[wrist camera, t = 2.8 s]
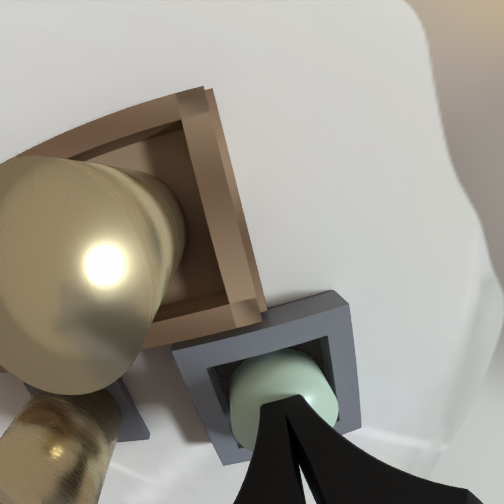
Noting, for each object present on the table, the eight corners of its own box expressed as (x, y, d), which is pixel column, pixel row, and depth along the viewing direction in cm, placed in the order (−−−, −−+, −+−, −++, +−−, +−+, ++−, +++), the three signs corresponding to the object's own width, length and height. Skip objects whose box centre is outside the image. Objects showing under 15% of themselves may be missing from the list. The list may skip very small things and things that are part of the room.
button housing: (349, 407, 13) (361, 427, 12) (222, 442, 13) (223, 465, 11) (333, 290, 12) (349, 303, 10) (176, 331, 11) (171, 351, 10)
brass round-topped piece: (201, 274, 11) (186, 377, 5) (94, 302, 10) (7, 400, 4) (169, 154, 10) (108, 114, 4) (61, 191, 9) (-65, 206, 4)
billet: (137, 437, 12) (112, 546, 6) (67, 441, 12) (28, 531, 6) (97, 364, 11) (37, 473, 5) (27, 374, 11) (-41, 459, 5)
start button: (327, 407, 12) (342, 438, 10) (242, 431, 12) (246, 465, 10) (314, 336, 11) (332, 363, 9) (216, 362, 11) (217, 394, 9)
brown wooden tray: (265, 304, 12) (274, 327, 10) (-13, 362, 11) (-34, 381, 9) (212, 93, 10) (211, 74, 8) (-63, 212, 9) (-90, 217, 7)
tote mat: (150, 433, 12) (149, 439, 12) (64, 439, 12) (62, 444, 12) (109, 353, 11) (106, 358, 11) (21, 367, 11) (17, 371, 11)
